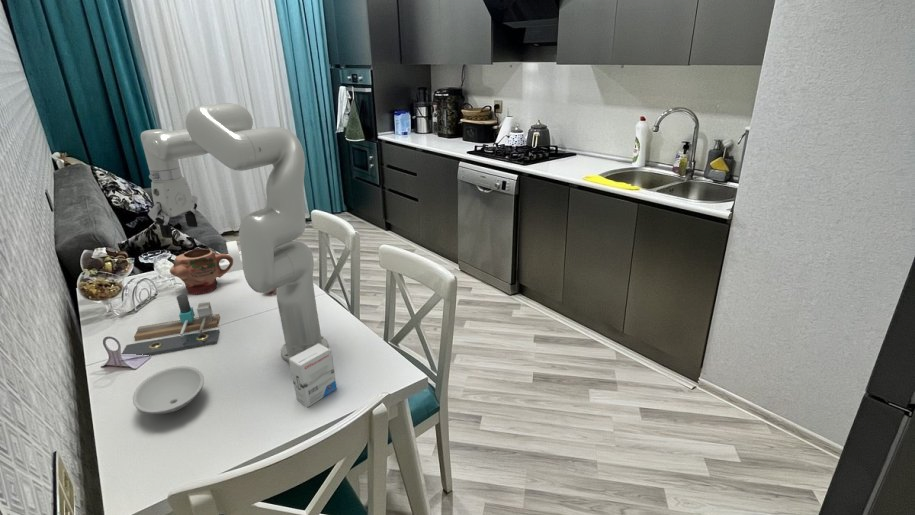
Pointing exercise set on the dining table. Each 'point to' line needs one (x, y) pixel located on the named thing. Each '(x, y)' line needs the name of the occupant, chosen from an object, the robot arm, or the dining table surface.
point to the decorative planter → (200, 269)
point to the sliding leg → (185, 312)
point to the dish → (168, 390)
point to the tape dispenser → (235, 256)
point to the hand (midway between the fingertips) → (180, 231)
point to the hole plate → (173, 343)
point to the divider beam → (180, 324)
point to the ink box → (313, 374)
